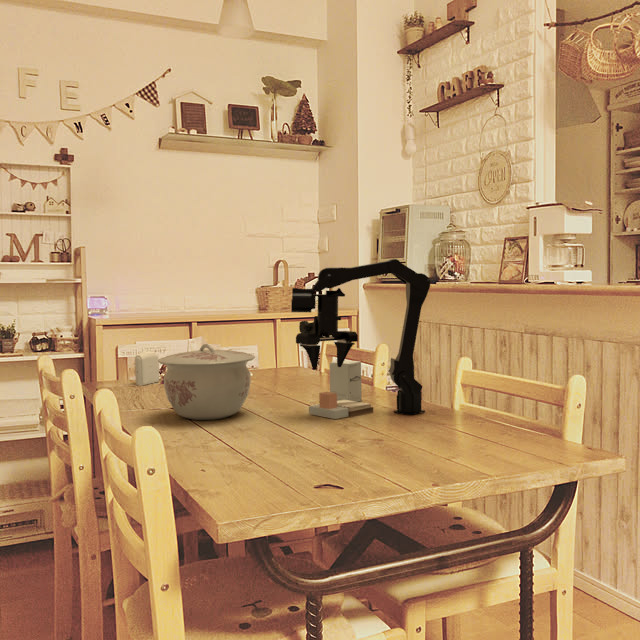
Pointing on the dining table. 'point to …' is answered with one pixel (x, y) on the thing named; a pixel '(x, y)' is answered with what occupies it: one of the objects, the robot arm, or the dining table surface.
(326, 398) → the stub
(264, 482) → the dining table surface
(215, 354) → the chamber pot
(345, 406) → the pad
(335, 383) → the supplement box
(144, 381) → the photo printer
